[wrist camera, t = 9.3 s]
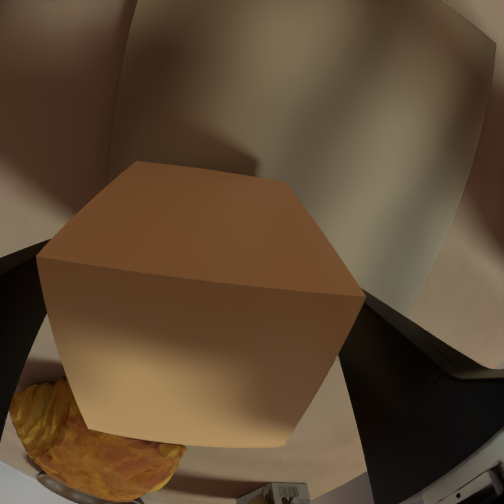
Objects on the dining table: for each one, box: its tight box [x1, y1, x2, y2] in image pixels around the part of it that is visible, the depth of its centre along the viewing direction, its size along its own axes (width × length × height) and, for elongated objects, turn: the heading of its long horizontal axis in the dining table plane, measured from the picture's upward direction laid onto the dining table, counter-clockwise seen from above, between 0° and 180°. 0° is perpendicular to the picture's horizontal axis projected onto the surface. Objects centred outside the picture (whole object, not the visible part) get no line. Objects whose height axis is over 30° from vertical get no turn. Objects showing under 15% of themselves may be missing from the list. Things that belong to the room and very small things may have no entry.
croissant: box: [9, 377, 187, 502], centre depth 18 cm, size 14×16×8 cm
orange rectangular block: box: [36, 161, 366, 448], centre depth 8 cm, size 5×5×7 cm
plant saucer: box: [36, 470, 144, 504], centre depth 29 cm, size 18×18×3 cm
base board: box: [107, 0, 496, 361], centre depth 12 cm, size 16×20×1 cm
